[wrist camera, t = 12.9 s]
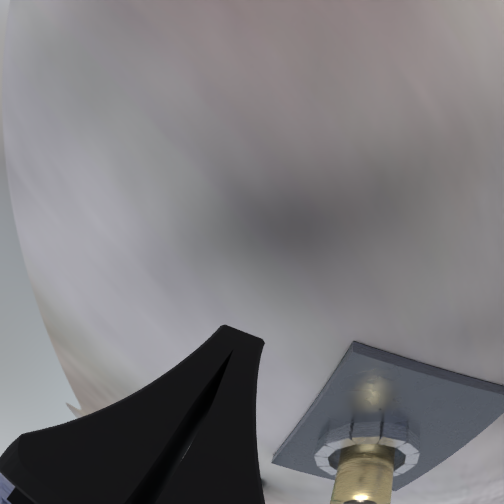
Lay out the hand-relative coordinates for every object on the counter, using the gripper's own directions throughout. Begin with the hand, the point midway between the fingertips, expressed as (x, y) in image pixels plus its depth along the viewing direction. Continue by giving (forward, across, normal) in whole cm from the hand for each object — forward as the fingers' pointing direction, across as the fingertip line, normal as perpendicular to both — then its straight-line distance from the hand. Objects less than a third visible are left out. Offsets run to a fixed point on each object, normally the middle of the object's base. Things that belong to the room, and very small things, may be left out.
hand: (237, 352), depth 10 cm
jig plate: (+9, -14, +16) cm, 23 cm away
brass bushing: (+8, -13, +17) cm, 23 cm away
